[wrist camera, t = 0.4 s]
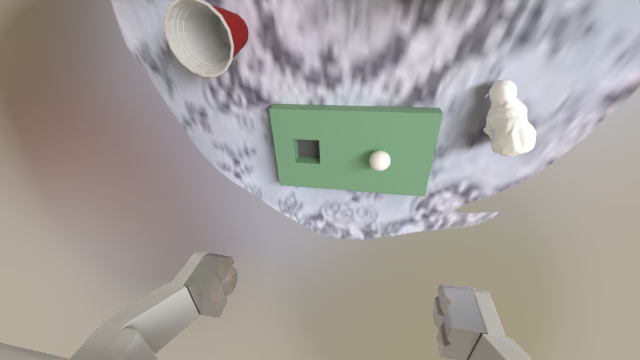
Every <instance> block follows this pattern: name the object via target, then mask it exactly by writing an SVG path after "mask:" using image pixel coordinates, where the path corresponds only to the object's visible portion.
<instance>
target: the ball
mask: <svg viewBox="0 0 640 360" xmlns="http://www.w3.org/2000/svg"><path fill="white" fill-rule="evenodd" d="M390 161H391V160H390V156H389V154H388V153H387V152H385V151H382V150H378V151H375V152H374V153H373V154H372V155H371V156H370V160H369V162H370V165H371V167H372V168H373V169H374V170H376V171H383V170H385V169H387V168H388V167H389V165H390Z"/></svg>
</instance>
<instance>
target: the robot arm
mask: <svg viewBox="0 0 640 360" xmlns="http://www.w3.org/2000/svg"><path fill="white" fill-rule="evenodd" d="M233 263H234V261H233V258H232V257H230V256H224V255H218V254H211V253H204V252H196V253H194V254H193V255H192V256H191V258H190V259H189V260H188V262H187V263H186V264H185V266H184V267H183V268H182V270H181V271H180V272H179V274H178V275H177V276H176V277H175V279H174V280H173V281H172V283H171V284H169V283H167V284H165V285H164V286H162V287H160V288H159V289H157V290H155V291H154V292H152V293H150V294H149V295H147V296H145V297H143V298H142V299H140V300H139V301H137V302H135V303H133V304H132V305H130V306H129V307H127V308H125V309H123V310H122V311H120V312H118V313H117V314H115V315H113V316H112V317H110V318H108V319H106V320H105V321H103V322H102V323H101V324H100V326H99V327H98V328H97V329H96V330H95V331H94V333H92V335H91V336H90V337H89V338H88V339H87V340H86V341H85V343H84V344H83V345H82V346H81V347H80V348H79V349H78V350H77V352H76V353H75V354H74V355H73V356H72V357H71V358H70V359H68V358H64V357H60V356H55V355H51V354H47V353H42V352H38V351H33V350H29V349H25V348H20V347H16V346H12V345H7V344H3V343H0V360H159V359H158V358H157V356H156V355H155V354H156V353H157V352H158V351H159V350H160V349H162V348H163V347H164V346H165V345H166V344H167V343H169V342H170V341H171V340H172V339H173V338H174V337H176V336H177V335H178V334H179V333H180V332H181V331H183V330H184V329H185V328H186V327H187V326H188V325H190V324H191V323H192V322H193V321H194V320H196V319H197V318H198V317H199V316H200V315H206V316H212V317H220V315H221V313H222V311H223V309H224V308H225V306H226V304H227V298H226V297H227V296H228V295H229V294H231V293H232V292H233V290H234V288H235V286H236V282H237V271H236V269H235V268H234V267H233V266H232V265H233ZM438 294H439V296H438V297H436V298H435V301H434V307H433V316H434V323H435V325H436V327H437V328H438V329H439V332H438V335H437V341H438V347H439V352H440V357H444V358H449V359H454V360H532V359H531V358H530V357H529V356H528V355H527V354H526V353H525V352H524V351H523V350H522V349H521V348H520V347H519V346H518V345H517V344H516V343H515V342H514V341H513V340H512V339H511V338H507V337H506V336H505V333H504V330H503V328H502V325H501V323H500V320H499V318H498V315H497V312H496V310H495V307H494V304H493V302H492V299H491V296H490V294H489V292H488V291H487V290H482V289H474V288H468V287H461V286H452V285H444V284H441V285H440V286H439V288H438Z"/></svg>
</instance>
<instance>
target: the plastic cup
mask: <svg viewBox="0 0 640 360" xmlns="http://www.w3.org/2000/svg"><path fill="white" fill-rule="evenodd" d="M164 30H165V36H166V38H167V41H168V44H169V47H170V49H171V50H172V52H173V53H174V55H175V56H176V58H177V59H178V60H179V62H180V63H181V64H183V65H184V66H185V67H186V68H187V69H189V70H190V71H191V72H193V73H195V74H198V75H200V76H203V77H217V76H219V75H220V74H222V73H224V72H226V70H227V69H228V67H229V65H230V64H231V62H232V60H233V57H234V56H235V55H236V54H237V53H238V52H239V51H240V50H241V49H242V48H243V47H244V45H245V44H246V42H247V40H248V28H247V26H246V24H245V22H244V20H243V19H242V18H241V17H240V16H238V15H237V14H235V13H232V12H230V11H227V10H225V9H222V8H219V7H215V6H212V5H210V4H209V3H207V2H205V1H203V0H175V1H173V2H172V3H171V4H170V5H169V6H168V9H167V11H166V14H165V17H164Z"/></svg>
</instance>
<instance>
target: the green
mask: <svg viewBox="0 0 640 360" xmlns="http://www.w3.org/2000/svg"><path fill="white" fill-rule="evenodd" d="M269 111H270V118H271V125H272V133H273V140H274V147H275V154H276V161H277V168H278V175H279V182H280V185H287V186H300V187H312V188H325V189H338V190H350V191H363V192H375V193H388V194H400V195H413V196H425V193H426V188H427V183H428V179H429V174H430V170H431V165H432V160H433V156H434V151H435V147H436V142H437V137H438V133H439V128H440V123H441V119H442V114H443V113H442V111H441V110H440V108H418V107H377V106H336V105H295V104H274V105H273V106H272V107H270V108H269ZM378 150H382V151H385V152H387V153H388V154H389V156H390V160H391V161H390V165H389V167H388V168H387V169H385V170H383V171H376V170H374V169H373V168H372V167H371V165H370V162H369V160H370V156H371V155H372V154H373V153H374V152H375V151H378Z"/></svg>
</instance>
